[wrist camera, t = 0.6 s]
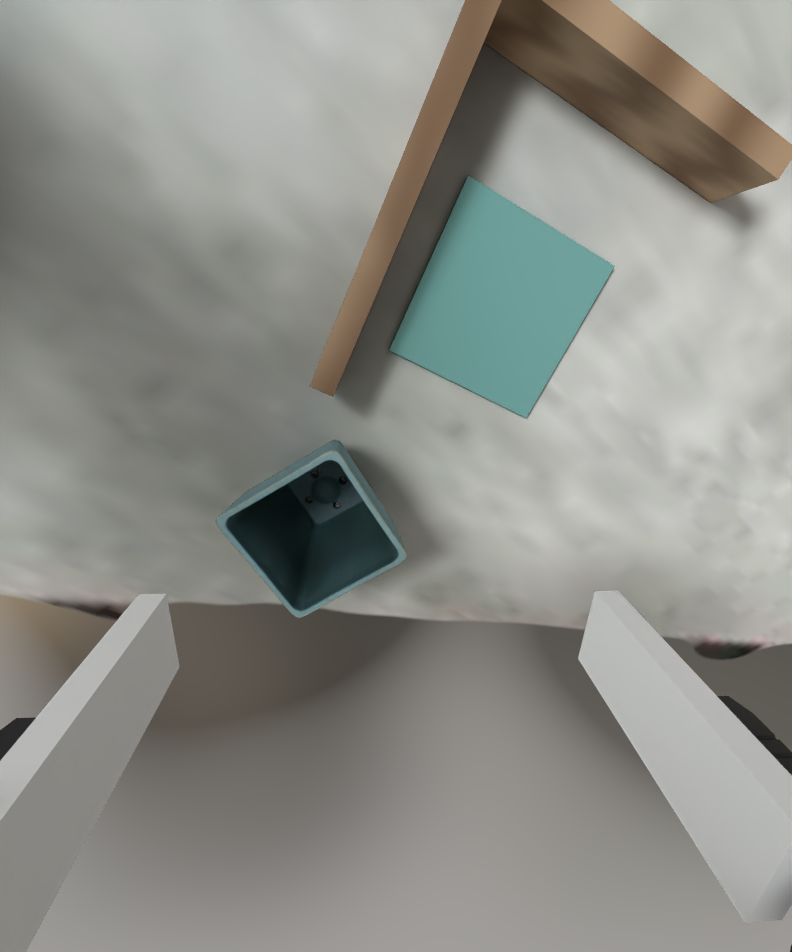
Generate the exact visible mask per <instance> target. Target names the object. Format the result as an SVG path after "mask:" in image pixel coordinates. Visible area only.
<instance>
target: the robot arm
mask: <svg viewBox="0 0 792 952" xmlns="http://www.w3.org/2000/svg"><path fill="white" fill-rule="evenodd" d="M578 659H579V661H580V663H581V664H582V665H583V667H584V669H585V670H586V672H587V674H588V675H589V677H590V678H591V680H592V682H593V683H594V685H595V686H596V688H597V689H598V691H599V693H600V694H601V696H602V697H603V699H604V700H605V702H606V704H607V705H608V707H609V708H610V710H611V712H612V713H613V715H614V716H615V718H616V719H617V721H618V723H619V724H620V726H621V727H622V729H623V731H624V732H625V734H626V735H627V737H628V738H629V740H630V742H631V743H632V745H633V746H634V748H635V750H636V751H637V753H638V754H639V756H640V757H641V759H642V761H643V762H644V764H645V765H646V767H647V768H648V770H649V772H650V773H651V775H652V776H653V778H654V779H655V781H656V783H657V784H658V786H659V787H660V789H661V790H662V792H663V794H664V795H665V797H666V799H667V800H668V802H669V803H670V805H671V806H672V808H673V810H674V811H675V813H676V814H677V816H678V817H679V819H680V821H681V822H682V823H683V825H684V827H685V829H686V830H687V832H688V833H689V835H690V836H691V838H692V839H693V841H694V843H695V844H696V846H697V848H698V849H699V851H700V852H701V854H702V855H703V857H704V859H705V860H706V862H707V863H708V865H709V866H710V868H711V870H712V871H713V873H714V874H715V876H716V878H717V879H718V881H719V882H720V884H721V885H722V887H723V889H724V890H725V892H726V893H727V895H728V897H729V898H730V900H731V901H732V903H733V904H734V906H735V908H736V909H737V911H738V912H739V914H740V915H741V917H742V919H743V920H744V922H745V923H747V922H760V921H773V920H782V919H783V917H784V916H785V914H786V913H787V911H788V910H789V908H790V906H791V905H792V752H791V751H790V750H789V749H788V748H787V747H786V746H785V745H784V744H783V743H782V742H781V741H780V740H777V739H776V738H775V735H774V734H773V733H772V732H771V731H770V730H769V729H768V728H767V727H766V726H765V725H764V724H763V723H762V722H761V721H760V720H759V719H758V718H757V717H756V716H755V715H754V714H753V713H752V712H750V711H749V710H747V709H746V708H744V707H743V706H742V705H740V704H739V703H737V702H736V701H734V700H733V699H732V698H730V697H729V696H716V695H715V694H714V692H713V691H712V690H711V689H710V688H709V687H708V686H707V685H706V684H705V683H704V682H703V681H702V680H701V679H700V678H699V676H698V675H697V674H696V673H695V672H694V671H693V670H692V669H691V668H690V667H689V666H688V665H687V664H686V663H685V662H684V661H683V660H682V658H681V657H680V656H679V655H678V654H677V653H676V652H675V651H674V650H673V649H672V648H671V647H670V646H669V645H668V644H667V642H666V641H664V639H663V638H662V637H661V636H660V635H659V634H658V633H657V632H656V631H655V630H654V629H653V628H652V627H651V625H650V624H649V623H648V622H647V621H646V620H645V619H644V618H643V617H642V616H641V615H640V614H639V613H638V612H637V611H636V610H635V608H634V607H633V606H632V605H631V604H630V603H629V602H628V601H627V600H626V599H625V598H624V597H623V596H622V595H621V594H620V593H619V591H595V593H594V597H593V601H592V605H591V609H590V613H589V617H588V621H587V625H586V629H585V633H584V637H583V641H582V645H581V649H580V653H579V657H578ZM178 668H179V662H178V656H177V651H176V645H175V639H174V634H173V628H172V623H171V617H170V611H169V606H168V600H167V595H166V594H139V595H138V596H137V597H136V598H135V599H134V601H133V602H132V603H131V604H130V606H129V607H128V608H127V609H126V610H125V612H124V613H123V614H122V615H121V616H120V618H119V619H118V620H117V621H116V622H115V624H114V625H113V626H112V627H111V629H110V630H109V631H108V632H107V633H106V634H105V636H104V637H103V638H102V639H101V640H100V642H99V643H98V644H97V645H96V646H95V648H94V649H93V650H92V651H91V653H90V654H89V655H88V656H87V657H86V658H85V660H84V661H83V662H82V663H81V664H80V666H79V667H78V668H77V669H76V671H75V672H74V673H73V674H72V675H71V677H70V678H69V679H68V680H67V682H65V684H64V685H63V686H62V687H61V688H60V690H59V691H58V692H57V693H56V695H55V696H54V697H53V698H52V699H51V701H50V702H49V703H48V704H47V705H46V707H45V708H44V709H43V710H42V711H41V713H40V714H39V715H38V716H37V717H36V718H16V719H15V720H13V721H12V722H11V723H9V724H8V725H7V726H5V727H4V728H3V729H1V730H0V952H26V951H27V949H28V947H29V945H30V943H31V941H32V939H33V938H34V936H35V934H36V932H37V930H38V928H39V927H40V925H41V923H42V921H43V919H44V917H45V915H46V914H47V912H48V910H49V908H50V906H51V904H52V903H53V901H54V899H55V897H56V895H57V893H58V891H59V889H60V888H61V886H62V884H63V882H64V880H65V878H66V876H67V875H68V873H69V871H70V869H71V867H72V865H73V863H74V861H75V860H76V858H77V856H78V854H79V852H80V850H81V849H82V847H83V845H84V843H85V841H86V839H87V837H88V836H89V834H90V832H91V830H92V828H93V826H94V824H95V823H96V820H97V819H98V817H99V815H100V813H101V811H102V809H103V808H104V806H105V804H106V802H107V800H108V799H109V796H110V795H111V793H112V791H113V789H114V787H115V786H116V784H117V782H118V780H119V778H120V776H121V774H122V773H123V771H124V769H125V767H126V765H127V763H128V761H129V760H130V758H131V756H132V754H133V752H134V750H135V748H136V746H137V745H138V743H139V741H140V739H141V737H142V735H143V734H144V732H145V730H146V728H147V726H148V724H149V722H150V721H151V719H152V717H153V715H154V713H155V711H156V709H157V707H158V706H159V704H160V702H161V700H162V698H163V696H164V695H165V693H166V691H167V689H168V687H169V685H170V683H171V681H172V680H173V678H174V676H175V674H176V672H177V670H178ZM790 952H792V945H791V950H790Z"/></svg>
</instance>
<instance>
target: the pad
mask: <svg viewBox="0 0 792 952" xmlns="http://www.w3.org/2000/svg"><path fill="white" fill-rule="evenodd" d="M614 267H615V266H614V265H612V264H610V263H609V262H607V261H605V260H604V259H602V258H601V257H599V256H597V255H596V254H594V253H593V252H591V251H589V250H588V249H586V248H585V247H583V246H581V245H580V244H578V243H577V242H575V241H573V240H572V239H570V238H568V237H567V236H565V235H564V234H562V233H560V232H559V231H557V230H556V229H554V228H552V227H551V226H549V225H548V224H546V223H544V222H543V221H541V220H539V219H538V218H536V217H535V216H533V215H531V214H530V213H528V212H527V211H525V210H523V209H522V208H520V207H519V206H517V205H515V204H514V203H512V202H511V201H509V200H507V199H506V198H504V197H502V196H501V195H499V194H498V193H496V192H494V191H493V190H491V189H490V188H488V187H486V186H485V185H483V184H482V183H480V182H478V181H477V180H475V179H473V178H472V177H470V176H469V175H468V177H467V179H466V181H465V183H464V185H463V187H462V190H461V192H460V194H459V196H458V199H457V201H456V203H455V205H454V207H453V210H452V212H451V214H450V216H449V218H448V221H447V223H446V225H445V227H444V229H443V232H442V234H441V236H440V238H439V241H438V243H437V245H436V247H435V249H434V252H433V254H432V256H431V258H430V260H429V263H428V265H427V267H426V269H425V272H424V274H423V276H422V278H421V280H420V283H419V285H418V287H417V289H416V291H415V294H414V296H413V298H412V300H411V302H410V305H409V307H408V309H407V311H406V314H405V316H404V318H403V320H402V322H401V325H400V327H399V329H398V331H397V333H396V336H395V338H394V340H393V342H392V345H391V347H390V349H389V350H390V351H392V352H394V353H396V354H398V355H400V356H402V357H404V358H406V359H408V360H410V361H412V362H414V363H416V364H418V365H420V366H422V367H424V368H426V369H428V370H430V371H432V372H434V373H436V374H438V375H440V376H442V377H444V378H446V379H448V380H450V381H452V382H454V383H456V384H458V385H461V386H463V387H465V388H467V389H469V390H471V391H473V392H475V393H477V394H479V395H481V396H483V397H485V398H487V399H489V400H491V401H493V402H495V403H497V404H499V405H501V406H503V407H505V408H507V409H509V410H511V411H513V412H515V413H517V414H519V415H521V416H523V417H525V418H527V416H528V414H529V412H530V411H531V409H532V407H533V406H534V404H535V402H536V400H537V399H538V397H539V395H540V394H541V392H542V390H543V388H544V387H545V385H546V383H547V382H548V380H549V378H550V376H551V375H552V373H553V371H554V370H555V368H556V366H557V364H558V363H559V361H560V359H561V358H562V356H563V354H564V352H565V351H566V349H567V347H568V346H569V344H570V342H571V340H572V339H573V337H574V335H575V334H576V332H577V330H578V328H579V327H580V325H581V323H582V321H583V320H584V318H585V316H586V315H587V313H588V311H589V309H590V308H591V306H592V304H593V303H594V301H595V299H596V297H597V296H598V294H599V292H600V291H601V289H602V287H603V285H604V284H605V282H606V280H607V279H608V277H609V275H610V273H611V272H612V270H613V268H614Z"/></svg>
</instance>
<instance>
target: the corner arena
mask: <svg viewBox="0 0 792 952" xmlns="http://www.w3.org/2000/svg"><path fill="white" fill-rule="evenodd" d="M483 43H485V44H487V45H488V46H489V47H491V48H492V49H494V50H495V51H497V52H498V53H499V54H501V55H502V56H504V57H505V58H506V59H508V60H509V61H511V62H512V63H514V64H515V65H516V66H518V67H519V68H521V69H522V70H523V71H525V72H526V73H528V74H529V75H531V76H532V77H533V78H535V79H536V80H538V81H539V82H540V83H542V84H543V85H545V86H546V87H548V88H549V89H550V90H552V91H553V92H555V93H556V94H557V95H559V96H560V97H562V98H563V99H565V100H566V101H567V102H569V103H570V104H572V105H573V106H574V107H576V108H577V109H579V110H580V111H582V112H583V113H584V114H586V115H587V116H589V117H590V118H591V119H593V120H594V121H596V122H597V123H599V124H600V125H601V126H603V127H604V128H606V129H607V130H608V131H610V132H611V133H613V134H614V135H616V136H617V137H618V138H620V139H621V140H623V141H624V142H625V143H627V144H628V145H630V146H631V147H633V148H634V149H635V150H637V151H638V152H640V153H641V154H642V155H644V156H645V157H647V158H648V159H650V160H651V161H652V162H654V163H655V164H657V165H658V166H659V167H661V168H662V169H664V170H665V171H667V172H668V173H669V174H671V175H672V176H674V177H675V178H676V179H678V180H679V181H681V182H682V183H684V184H685V185H686V186H688V187H689V188H691V189H692V190H693V191H695V192H696V193H698V194H699V195H701V196H702V197H703V198H705V199H706V200H708V201H709V202H710V203H711V202H714V201H717V200H720V199H723V198H726V197H729V196H732V195H735V194H738V193H740V192H743V191H746V190H749V189H752V188H755V187H758V186H761V185H764V184H766V183H769V182H772V181H775V180H778V179H779V178H780V176H781V175H782V173H783V172H784V170H785V168H786V167H787V165H788V164H789V162H790V161H791V159H792V144H790V143H789V142H788V141H787V140H785V139H784V138H783V137H782V136H780V135H779V134H778V133H776V132H775V131H774V130H773V129H771V128H770V127H769V126H768V125H766V124H765V123H764V122H763V121H761V120H760V119H759V118H757V117H756V116H755V115H754V114H752V113H751V112H750V111H749V110H747V109H746V108H745V107H744V106H742V105H741V104H740V103H738V102H737V101H736V100H735V99H733V98H732V97H731V96H730V95H728V94H727V93H726V92H725V91H723V90H722V89H721V88H719V87H718V86H717V85H716V84H714V83H713V82H712V81H711V80H709V79H708V78H707V77H706V76H704V75H703V74H702V73H700V72H699V71H698V70H697V69H695V68H694V67H693V66H692V65H690V64H689V63H688V62H687V61H685V60H684V59H683V58H682V57H680V56H679V55H678V54H676V53H675V52H674V51H673V50H671V49H670V48H669V47H668V46H666V45H665V44H664V43H663V42H661V41H660V40H659V39H657V38H656V37H655V36H654V35H652V34H651V33H650V32H649V31H647V30H646V29H645V28H644V27H642V26H641V25H640V24H638V23H637V22H636V21H635V20H633V19H632V18H631V17H630V16H628V15H627V14H626V13H625V12H623V11H622V10H621V9H619V8H618V7H617V6H616V5H614V4H613V3H612V2H611V1H609V0H465V2H464V5H463V7H462V10H461V12H460V15H459V17H458V20H457V22H456V25H455V27H454V30H453V32H452V34H451V37H450V39H449V42H448V44H447V47H446V49H445V52H444V54H443V57H442V59H441V62H440V64H439V67H438V69H437V72H436V74H435V77H434V79H433V81H432V84H431V86H430V89H429V91H428V94H427V96H426V99H425V101H424V104H423V106H422V109H421V111H420V114H419V116H418V119H417V121H416V124H415V126H414V129H413V131H412V133H411V136H410V138H409V141H408V143H407V146H406V148H405V151H404V153H403V156H402V158H401V161H400V163H399V166H398V168H397V171H396V173H395V176H394V178H393V180H392V183H391V185H390V188H389V190H388V193H387V195H386V198H385V200H384V203H383V205H382V208H381V210H380V213H379V215H378V218H377V220H376V223H375V225H374V228H373V230H372V232H371V235H370V237H369V240H368V242H367V245H366V247H365V250H364V252H363V255H362V257H361V260H360V262H359V265H358V267H357V270H356V272H355V275H354V277H353V279H352V282H351V284H350V287H349V289H348V292H347V294H346V297H345V299H344V302H343V304H342V307H341V309H340V312H339V314H338V317H337V319H336V322H335V324H334V326H333V329H332V331H331V334H330V336H329V339H328V341H327V344H326V346H325V349H324V351H323V354H322V356H321V359H320V361H319V364H318V366H317V369H316V371H315V374H314V376H313V378H312V381H311V383H310V387H312V388H314V389H317V390H319V391H321V392H323V393H325V394H328V395H330V396H332V397H333V395H334V393H335V391H336V389H337V386H338V384H339V382H340V379H341V377H342V375H343V372H344V370H345V367H346V365H347V363H348V360H349V358H350V356H351V353H352V351H353V349H354V346H355V344H356V342H357V339H358V337H359V335H360V332H361V330H362V328H363V325H364V323H365V320H366V318H367V316H368V313H369V311H370V309H371V306H372V304H373V302H374V299H375V297H376V295H377V292H378V290H379V288H380V285H381V283H382V281H383V278H384V276H385V273H386V271H387V269H388V266H389V264H390V262H391V259H392V257H393V255H394V252H395V250H396V248H397V245H398V243H399V241H400V238H401V236H402V234H403V231H404V229H405V226H406V224H407V222H408V219H409V217H410V215H411V212H412V210H413V208H414V205H415V203H416V201H417V198H418V196H419V194H420V191H421V189H422V186H423V184H424V182H425V179H426V177H427V175H428V172H429V170H430V168H431V165H432V163H433V161H434V158H435V156H436V154H437V151H438V149H439V147H440V144H441V142H442V139H443V137H444V135H445V132H446V130H447V128H448V125H449V123H450V121H451V118H452V116H453V114H454V111H455V109H456V107H457V104H458V102H459V100H460V97H461V95H462V92H463V90H464V88H465V85H466V83H467V81H468V78H469V76H470V74H471V71H472V69H473V67H474V64H475V62H476V60H477V57H478V55H479V53H480V50H481V48H482V45H483Z"/></svg>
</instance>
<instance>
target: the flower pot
mask: <svg viewBox="0 0 792 952" xmlns="http://www.w3.org/2000/svg"><path fill="white" fill-rule="evenodd" d="M314 471H317V472H318V476H317V477H314V476H313V475H312V472H314ZM341 477H344V478H346V482H344V483H342V482H341V481H340V478H341ZM308 496H310V497H312V498H313V501H312V502H308V501H307V500H306V499H307V497H308ZM335 502H339V503H340V506H339V507H335V506H334V503H335ZM216 523H217V525H218V527H219V529H220V530H221V532H222V533H223V534H224V535H225V536H226V537H227V538H228V540H229V541H230V542H231V543H232V544H233V545H234V547H235V548H236V549H237V550H238V551H239V552H240V553H241V554H242V555H243V557H244V558H245V559H246V560H247V561H248V562H249V563H250V565H251V566H252V567H253V568H254V569H255V571H256V572H257V573H258V574H259V575H260V577H261V578H262V579H263V580H264V582H265V583H266V584H267V585H268V586H269V587H270V589H271V590H272V592H273V593H274V594H275V595H276V596H277V597H278V598H279V600H280V601H281V602H282V603H283V605H284V606H285V607H286V608H287V609H288V610H289V612H290V613H292V614H293V615H294V616H296V617H297V618H301V617H304V616H306V615H308V614H310V613H311V612H313V611H315V610H317V609H319V608H320V607H322V606H324V605H326V604H328V603H329V602H330V601H333V600H334V599H336V598H338V597H340V596H341V595H343V594H345V593H347V592H349V591H351V590H352V589H354V588H356V587H358V586H360V585H361V584H363V583H365V582H367V581H369V580H370V579H372V578H374V577H376V576H378V575H380V574H382V573H384V572H386V571H388V570H390V569H391V568H393V567H396V566H398V565H399V564H401V563H402V562H403V561H404V560H405V559H406V558H407V554H406V551H405V549H404V546H403V544H402V541H401V539H400V537H399V534H398V532H397V530H396V527H395V525H394V523H393V521H392V519H391V517H390V516H389V514H388V513H387V511H386V510H385V508H384V507H383V505H382V504H381V502H380V501H379V499H378V498H377V496H376V495H375V493H374V492H373V490H372V489H371V487H370V486H369V484H368V483H367V481H366V480H365V478H364V477H363V475H362V474H361V472H360V471H359V469H358V468H357V466H356V464H355V463H354V461H353V460H352V458H351V457H350V455H349V454H348V452H347V450H346V449H345V447H344V446H343V444H342V443H341V442H340V441H338V440H333V441H331V442H329V443H327V444H325V445H324V446H322V447H320V448H319V449H317V450H315V451H314V452H312V453H310V454H309V455H307V456H305V457H304V458H302V459H300V460H299V461H297V462H295V463H294V464H292V465H290V466H289V467H287V468H285V469H284V470H282V471H280V472H279V473H277V474H275V475H273V476H272V477H270V478H268V479H267V480H265V481H263V482H262V483H260V484H258V485H256V486H255V487H253V488H251V489H250V490H248V491H247V492H246V493H244V494H243V495H242V496H241V497H240V498H239V499H238V500H236V501H235V502H234V503H233V504H232V505H231V506H230V507H229V508H227V509H226V510H225V511H224V512H223V513H222V514H221V515H219V516H218V517H217V519H216Z"/></svg>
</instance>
